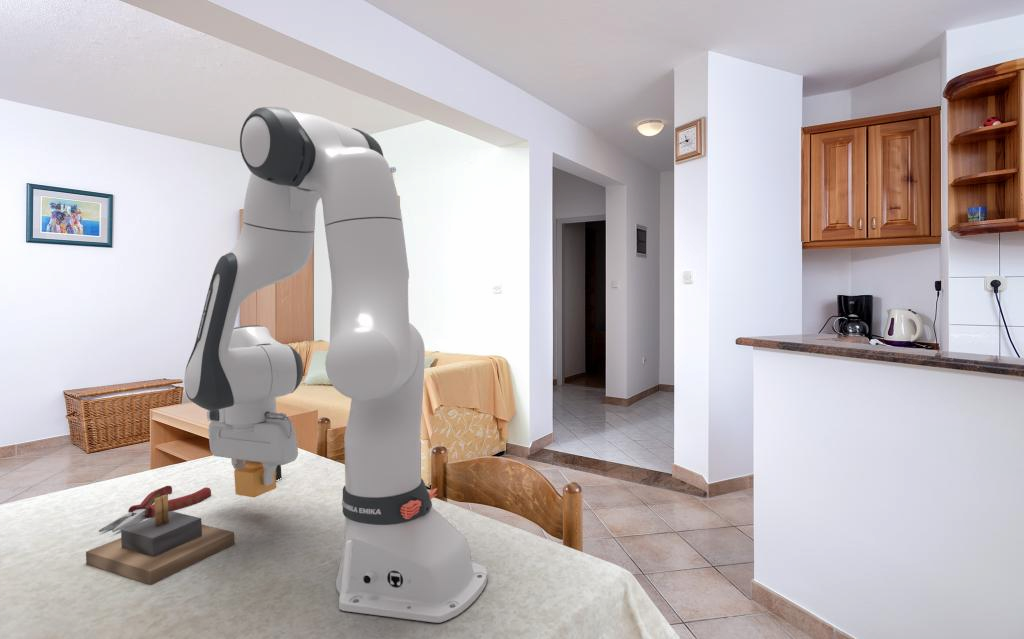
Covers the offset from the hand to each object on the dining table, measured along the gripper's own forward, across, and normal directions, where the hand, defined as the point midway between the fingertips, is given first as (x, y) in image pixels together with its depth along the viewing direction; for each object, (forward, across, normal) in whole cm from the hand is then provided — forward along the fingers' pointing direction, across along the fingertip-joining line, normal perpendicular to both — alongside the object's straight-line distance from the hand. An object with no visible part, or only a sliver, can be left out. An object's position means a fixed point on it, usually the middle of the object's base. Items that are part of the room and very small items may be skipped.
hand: (255, 482), depth 100 cm
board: (+7, +3, +16) cm, 18 cm away
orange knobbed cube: (+2, 0, 0) cm, 2 cm away
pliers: (+7, +24, +6) cm, 25 cm away
